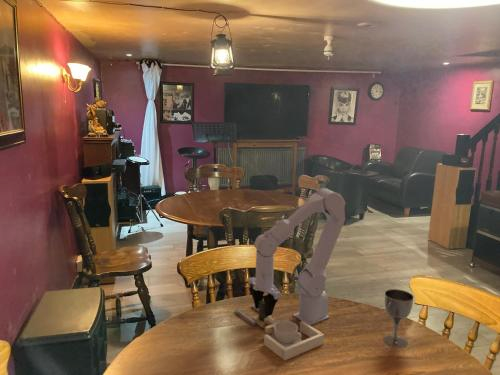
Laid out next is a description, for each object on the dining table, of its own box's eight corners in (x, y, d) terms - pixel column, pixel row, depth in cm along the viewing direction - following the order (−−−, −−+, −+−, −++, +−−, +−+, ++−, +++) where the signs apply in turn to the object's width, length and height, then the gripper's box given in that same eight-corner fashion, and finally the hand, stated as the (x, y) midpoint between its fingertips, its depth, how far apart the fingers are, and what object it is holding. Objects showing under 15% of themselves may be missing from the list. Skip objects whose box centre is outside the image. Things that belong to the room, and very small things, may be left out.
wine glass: (385, 331, 128) (389, 286, 125) (411, 339, 123) (416, 293, 121) (377, 342, 121) (381, 295, 119) (405, 351, 117) (409, 303, 114)
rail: (253, 306, 143) (253, 303, 143) (272, 319, 134) (272, 316, 134) (235, 312, 139) (235, 309, 138) (253, 325, 130) (253, 322, 130)
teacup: (263, 343, 120) (263, 329, 119) (277, 328, 128) (277, 315, 128) (294, 353, 115) (294, 338, 114) (306, 337, 124) (307, 323, 123)
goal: (302, 329, 128) (302, 321, 127) (323, 343, 120) (324, 334, 120) (264, 344, 119) (264, 335, 119) (284, 360, 112) (285, 350, 111)
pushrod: (269, 313, 137) (270, 295, 136) (292, 328, 128) (292, 308, 127) (245, 322, 132) (245, 302, 130) (267, 338, 122) (267, 317, 121)
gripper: (241, 267, 132) (241, 305, 135) (268, 282, 121) (267, 324, 123) (258, 263, 136) (258, 300, 139) (286, 277, 125) (285, 317, 127)
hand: (263, 311), depth 131 cm, fingers open, 5 cm apart
